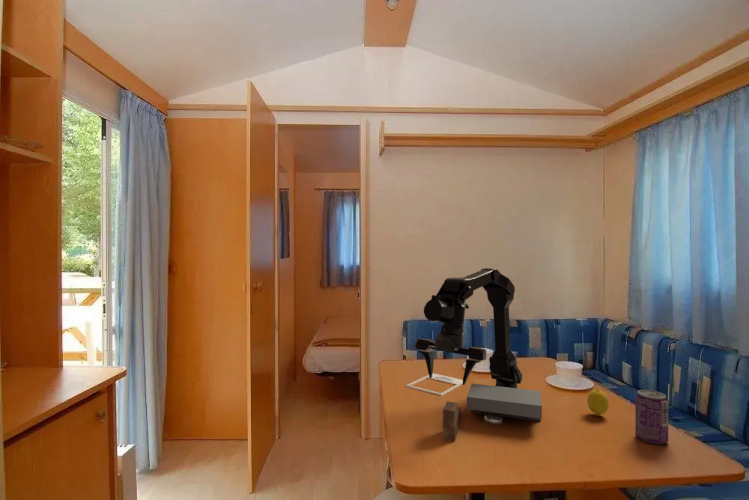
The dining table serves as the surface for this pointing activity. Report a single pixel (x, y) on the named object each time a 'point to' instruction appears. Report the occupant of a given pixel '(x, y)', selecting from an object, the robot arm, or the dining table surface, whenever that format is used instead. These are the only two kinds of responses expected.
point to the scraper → (450, 420)
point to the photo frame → (440, 378)
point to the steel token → (493, 418)
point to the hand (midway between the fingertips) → (446, 381)
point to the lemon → (598, 402)
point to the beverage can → (651, 416)
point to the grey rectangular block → (505, 401)
